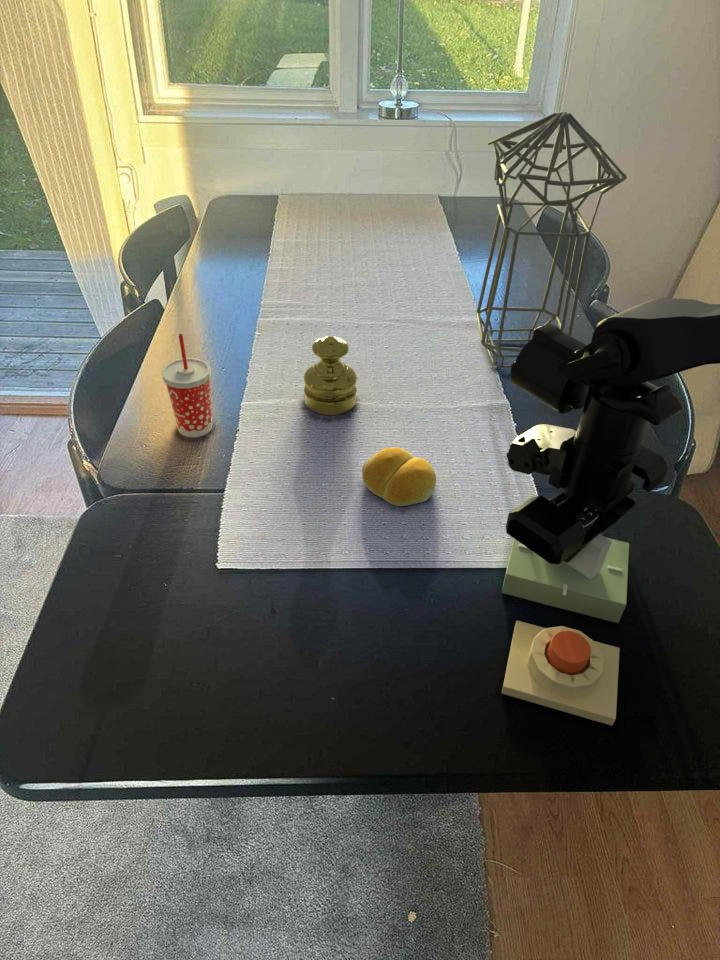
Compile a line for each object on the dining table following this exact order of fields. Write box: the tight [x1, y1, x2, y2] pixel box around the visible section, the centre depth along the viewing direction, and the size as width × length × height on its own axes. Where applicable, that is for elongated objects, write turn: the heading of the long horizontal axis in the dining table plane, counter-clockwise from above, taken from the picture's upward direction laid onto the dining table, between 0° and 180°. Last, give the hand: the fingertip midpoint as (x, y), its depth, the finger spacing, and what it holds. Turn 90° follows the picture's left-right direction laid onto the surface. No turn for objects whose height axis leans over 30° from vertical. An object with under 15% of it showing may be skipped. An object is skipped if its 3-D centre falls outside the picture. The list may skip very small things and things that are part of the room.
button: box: [547, 631, 591, 674], centre depth 64 cm, size 4×4×2 cm
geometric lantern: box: [475, 111, 628, 369], centre depth 99 cm, size 16×16×35 cm
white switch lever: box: [564, 534, 612, 580], centre depth 72 cm, size 6×2×5 cm, turn 41°
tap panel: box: [501, 537, 630, 624], centre depth 75 cm, size 12×11×3 cm
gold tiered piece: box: [303, 335, 358, 416], centre depth 96 cm, size 7×8×10 cm
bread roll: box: [361, 446, 437, 507], centre depth 85 cm, size 8×9×4 cm
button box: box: [501, 620, 621, 727], centre depth 66 cm, size 10×8×3 cm
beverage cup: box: [161, 333, 214, 438], centre depth 90 cm, size 6×6×14 cm
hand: (570, 554), depth 73 cm, fingers closed on white switch lever, 2 cm apart
